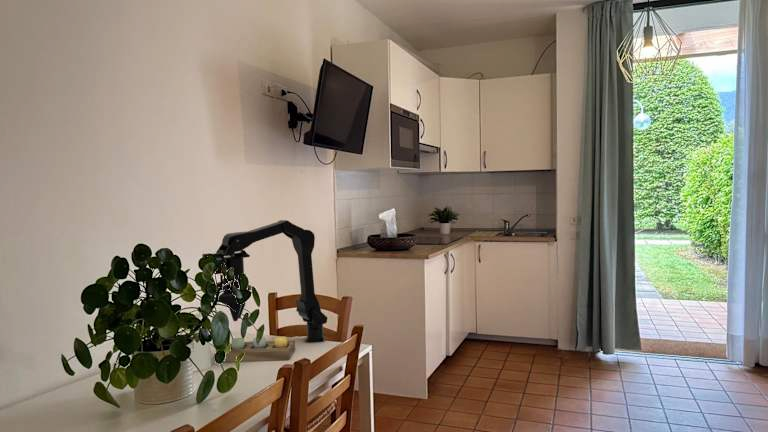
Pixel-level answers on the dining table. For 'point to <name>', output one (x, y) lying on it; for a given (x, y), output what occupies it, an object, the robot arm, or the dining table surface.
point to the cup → (202, 353)
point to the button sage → (238, 343)
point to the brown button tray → (262, 352)
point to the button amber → (281, 342)
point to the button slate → (261, 345)
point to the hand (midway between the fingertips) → (236, 319)
